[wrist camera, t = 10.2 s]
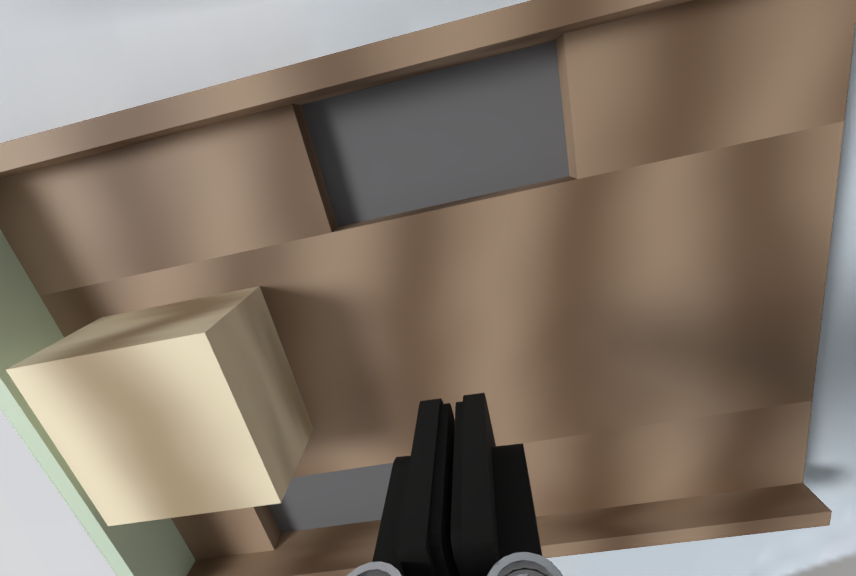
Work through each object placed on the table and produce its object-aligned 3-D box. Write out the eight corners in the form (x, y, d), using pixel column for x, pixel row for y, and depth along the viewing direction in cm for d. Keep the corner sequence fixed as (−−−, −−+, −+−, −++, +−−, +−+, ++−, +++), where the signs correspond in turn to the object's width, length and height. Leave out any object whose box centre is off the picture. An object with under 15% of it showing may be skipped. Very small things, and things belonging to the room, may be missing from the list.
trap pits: (554, 40, 14) (555, 40, 14) (600, 487, 21) (602, 490, 21) (107, 155, 16) (103, 156, 16) (282, 529, 23) (281, 532, 23)
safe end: (-5, 161, 16) (-140, 170, 13) (213, 549, 24) (169, 628, 20) (-23, 165, 16) (-162, 176, 13) (200, 551, 24) (154, 630, 20)
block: (259, 286, 16) (204, 332, 13) (313, 428, 19) (281, 503, 15) (101, 317, 17) (5, 369, 13) (172, 450, 20) (108, 526, 16)
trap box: (830, -60, 13) (924, -105, 10) (781, 475, 20) (829, 525, 18) (-5, 161, 16) (-88, 166, 14) (213, 549, 24) (185, 599, 21)
